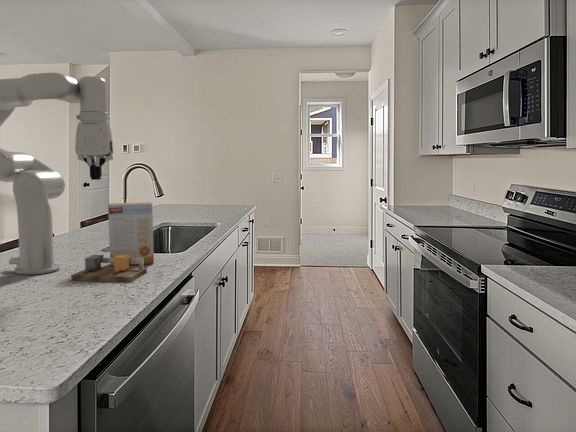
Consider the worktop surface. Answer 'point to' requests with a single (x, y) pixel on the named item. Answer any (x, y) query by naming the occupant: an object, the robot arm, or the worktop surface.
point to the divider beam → (95, 262)
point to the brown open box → (110, 275)
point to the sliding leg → (121, 262)
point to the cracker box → (131, 230)
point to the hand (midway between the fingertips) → (95, 179)
